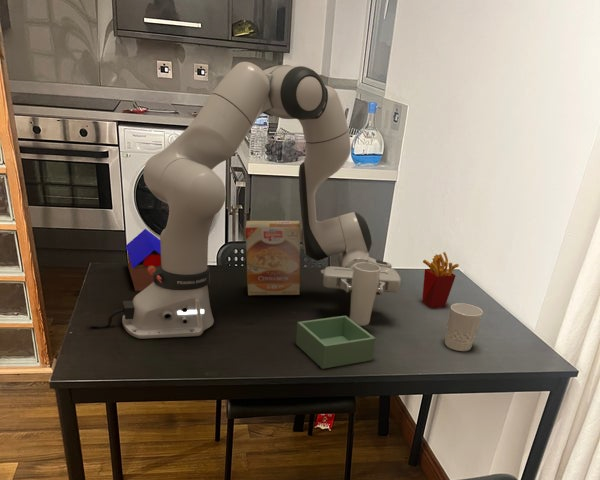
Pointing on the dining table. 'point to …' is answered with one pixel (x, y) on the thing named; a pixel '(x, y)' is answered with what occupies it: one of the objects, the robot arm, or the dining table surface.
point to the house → (143, 258)
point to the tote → (335, 341)
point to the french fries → (437, 281)
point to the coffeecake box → (273, 257)
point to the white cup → (462, 326)
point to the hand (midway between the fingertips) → (364, 290)
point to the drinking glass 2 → (363, 291)
